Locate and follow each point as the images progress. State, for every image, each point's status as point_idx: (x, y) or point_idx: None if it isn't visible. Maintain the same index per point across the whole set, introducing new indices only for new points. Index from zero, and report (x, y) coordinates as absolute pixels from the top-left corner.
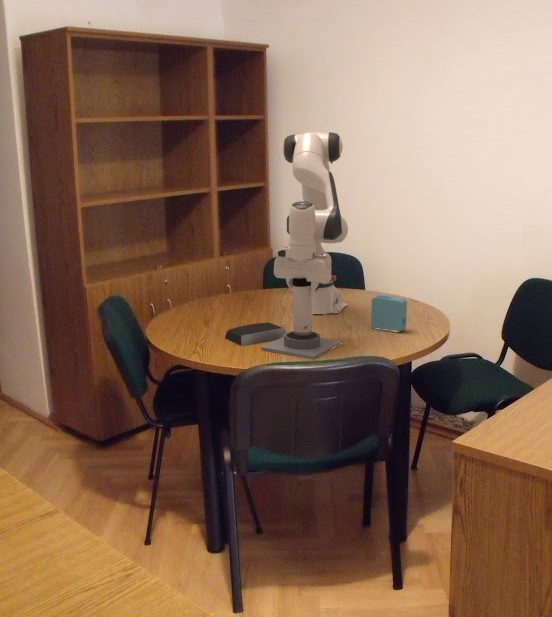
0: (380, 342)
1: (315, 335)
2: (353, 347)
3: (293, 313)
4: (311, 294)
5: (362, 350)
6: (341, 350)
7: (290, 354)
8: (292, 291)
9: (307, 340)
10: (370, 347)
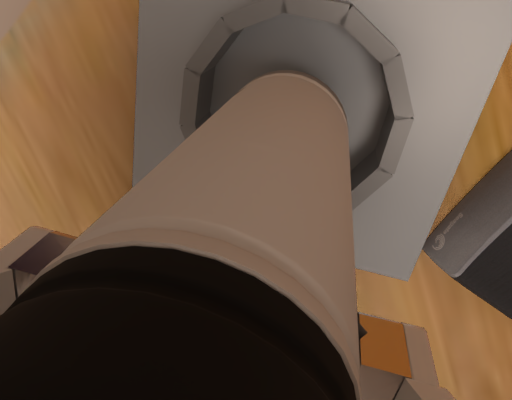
0: None
1: None
2: (73, 170)
3: (333, 134)
4: (51, 231)
5: (20, 139)
6: (96, 109)
7: None
8: (366, 320)
9: (218, 20)
10: (16, 190)
